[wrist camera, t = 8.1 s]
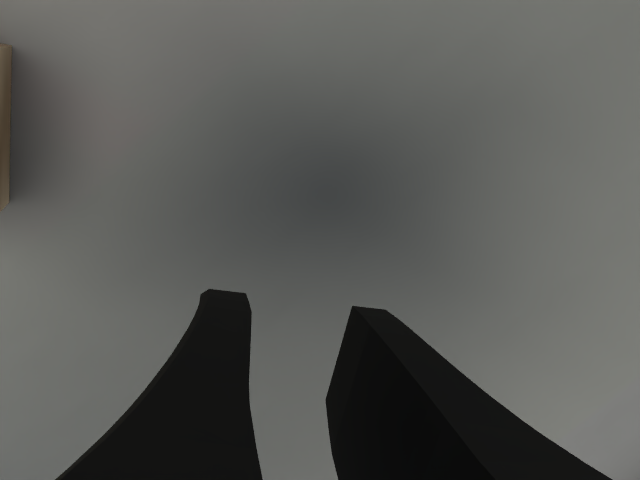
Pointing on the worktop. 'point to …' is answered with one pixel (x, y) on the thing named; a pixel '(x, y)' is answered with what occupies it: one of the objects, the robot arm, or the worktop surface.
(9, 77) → the domino
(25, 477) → the worktop surface
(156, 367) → the worktop surface
